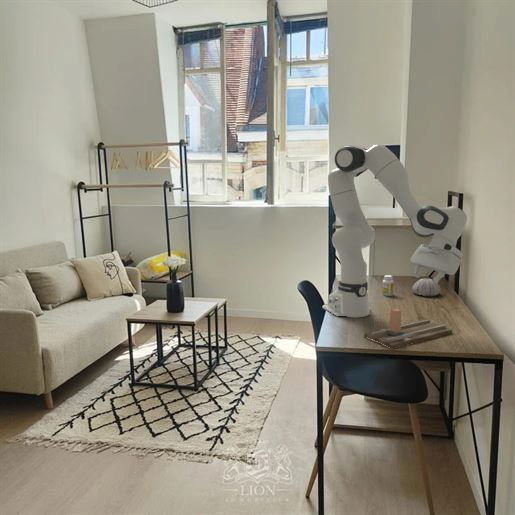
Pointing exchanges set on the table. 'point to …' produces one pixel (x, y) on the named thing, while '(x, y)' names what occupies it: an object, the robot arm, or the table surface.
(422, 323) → the track board
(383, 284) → the supplement bottle
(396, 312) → the fader tab
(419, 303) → the table surface
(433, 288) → the sea urchin shell
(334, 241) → the robot arm
